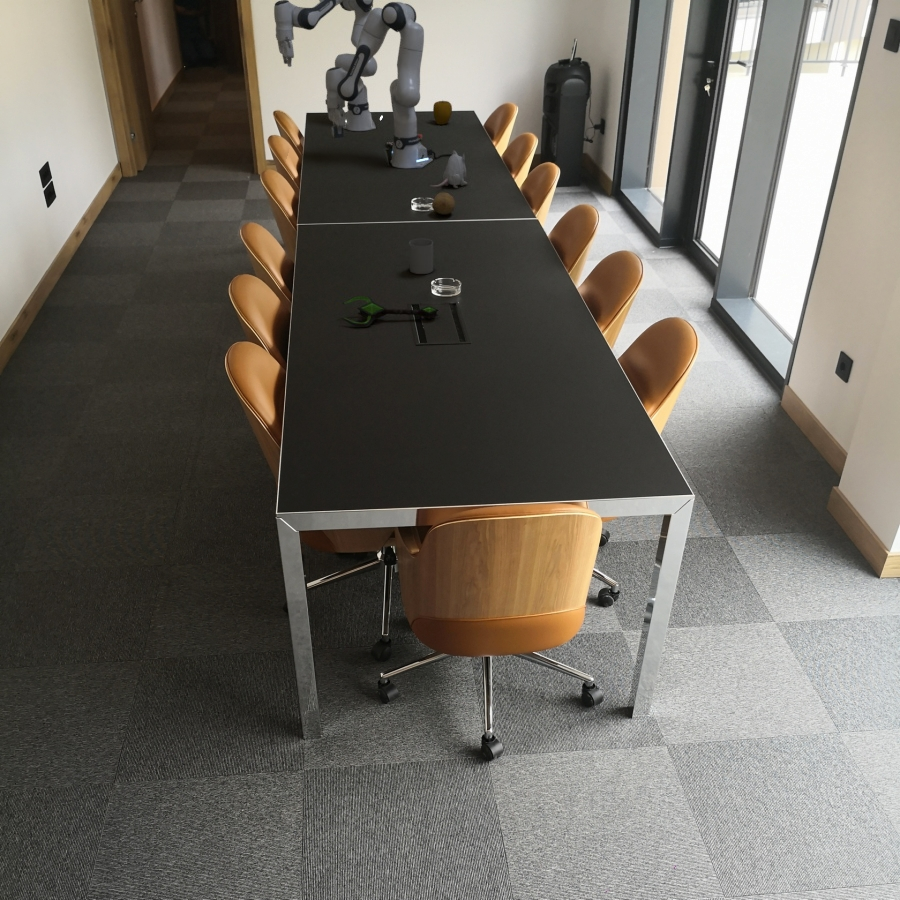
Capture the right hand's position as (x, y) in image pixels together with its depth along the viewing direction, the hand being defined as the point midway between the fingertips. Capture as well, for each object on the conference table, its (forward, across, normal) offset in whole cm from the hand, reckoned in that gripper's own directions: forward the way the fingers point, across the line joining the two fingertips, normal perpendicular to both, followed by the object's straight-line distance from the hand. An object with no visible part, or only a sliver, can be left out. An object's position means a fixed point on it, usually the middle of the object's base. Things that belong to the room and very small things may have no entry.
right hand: (337, 132), depth 431 cm
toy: (+13, -69, -32) cm, 77 cm away
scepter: (+13, -196, +39) cm, 201 cm away
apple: (+13, +54, -77) cm, 95 cm away
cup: (+13, -160, +15) cm, 161 cm away
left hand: (-24, +50, +12) cm, 57 cm away
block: (+2, 0, 0) cm, 2 cm away
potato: (+13, -103, -16) cm, 105 cm away
